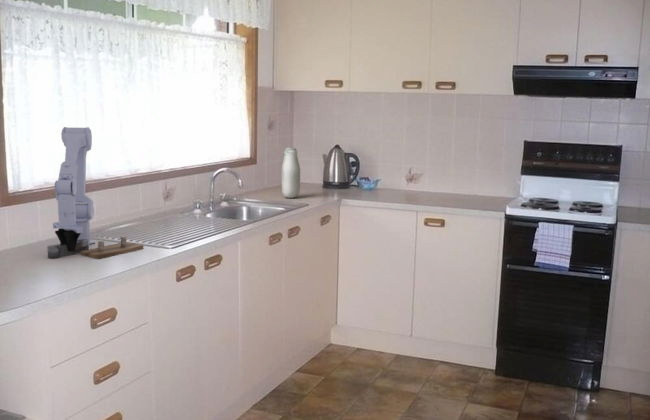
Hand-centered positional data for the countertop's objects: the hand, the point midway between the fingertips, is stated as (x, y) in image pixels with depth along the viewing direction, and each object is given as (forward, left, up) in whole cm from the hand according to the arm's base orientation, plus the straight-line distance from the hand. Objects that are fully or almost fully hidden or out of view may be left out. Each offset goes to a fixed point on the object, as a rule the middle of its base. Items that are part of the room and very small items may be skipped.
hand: (68, 250), depth 247 cm
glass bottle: (-18, +155, -2) cm, 156 cm away
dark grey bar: (0, 0, -1) cm, 1 cm away
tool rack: (+9, +12, -1) cm, 15 cm away
